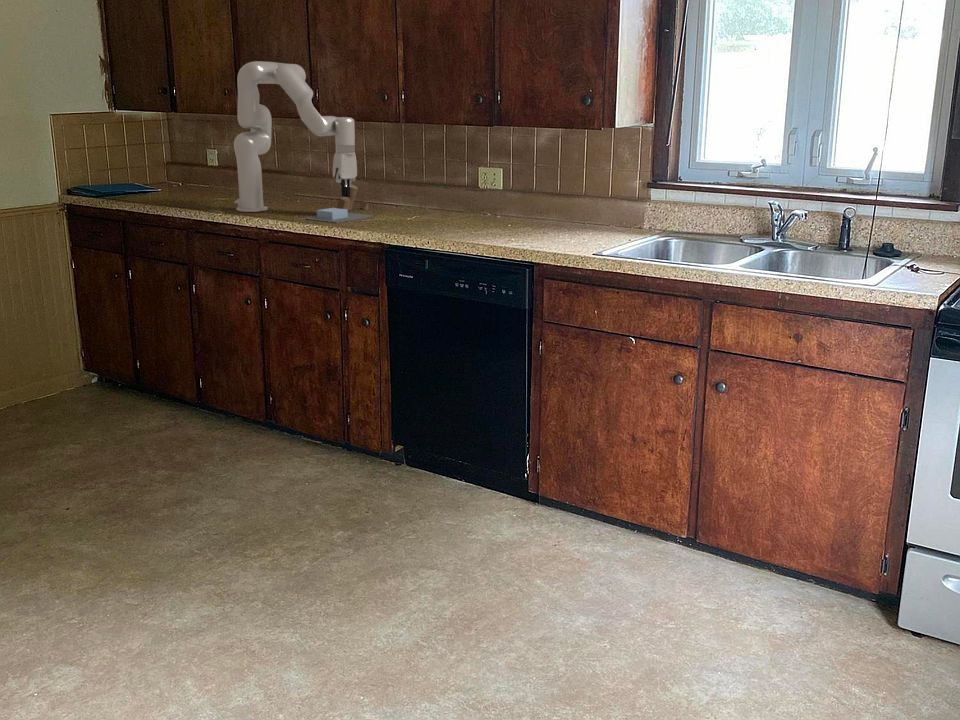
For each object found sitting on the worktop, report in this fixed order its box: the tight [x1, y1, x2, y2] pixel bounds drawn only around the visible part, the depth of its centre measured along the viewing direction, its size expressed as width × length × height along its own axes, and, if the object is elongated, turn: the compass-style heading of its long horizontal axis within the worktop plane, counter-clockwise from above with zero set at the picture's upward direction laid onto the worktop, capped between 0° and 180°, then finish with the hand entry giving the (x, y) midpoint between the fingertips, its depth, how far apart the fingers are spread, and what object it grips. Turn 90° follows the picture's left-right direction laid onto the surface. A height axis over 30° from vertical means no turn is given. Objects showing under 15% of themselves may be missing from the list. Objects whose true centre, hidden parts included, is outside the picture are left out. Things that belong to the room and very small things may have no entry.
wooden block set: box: [336, 184, 369, 211], centre depth 395 cm, size 18×9×10 cm, turn 154°
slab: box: [316, 207, 349, 220], centre depth 373 cm, size 8×3×9 cm
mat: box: [304, 212, 374, 224], centre depth 375 cm, size 16×22×1 cm
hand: (346, 196), depth 379 cm, fingers closed
